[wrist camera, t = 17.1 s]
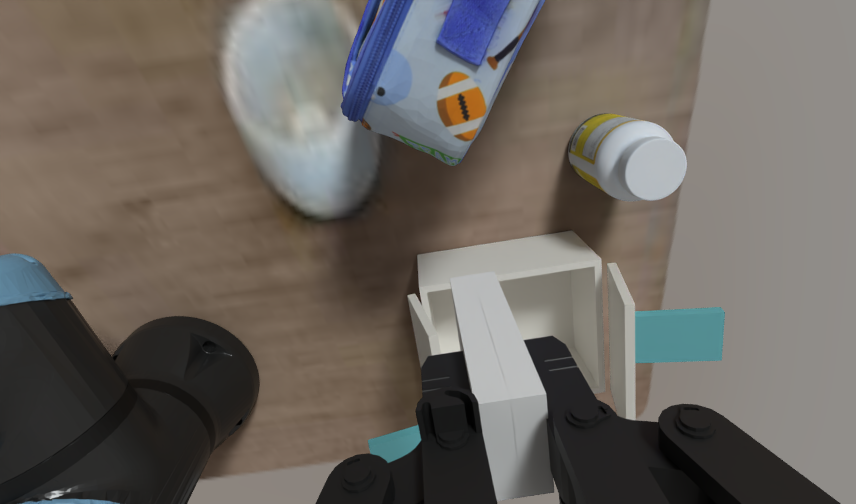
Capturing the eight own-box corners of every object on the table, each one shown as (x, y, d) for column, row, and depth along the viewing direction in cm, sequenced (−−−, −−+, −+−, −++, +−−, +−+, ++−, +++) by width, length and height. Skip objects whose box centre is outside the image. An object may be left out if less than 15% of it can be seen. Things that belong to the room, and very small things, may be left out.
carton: (439, 386, 56) (445, 435, 49) (417, 254, 51) (419, 287, 43) (579, 364, 56) (605, 410, 49) (572, 230, 50) (601, 259, 43)
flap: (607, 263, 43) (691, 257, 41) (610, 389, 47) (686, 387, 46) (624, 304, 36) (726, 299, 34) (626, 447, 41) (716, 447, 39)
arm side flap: (436, 415, 48) (369, 435, 47) (415, 293, 43) (338, 312, 42) (460, 472, 41) (381, 497, 40) (437, 333, 36) (347, 358, 35)
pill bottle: (624, 182, 49) (686, 216, 38) (560, 177, 48) (604, 210, 38) (639, 115, 47) (710, 130, 36) (572, 109, 46) (623, 122, 35)
